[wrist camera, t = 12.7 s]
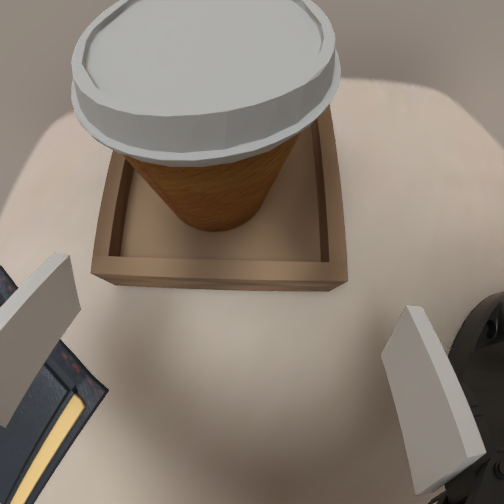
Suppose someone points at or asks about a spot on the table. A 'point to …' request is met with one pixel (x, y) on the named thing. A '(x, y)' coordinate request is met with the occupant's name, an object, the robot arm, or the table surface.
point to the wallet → (44, 419)
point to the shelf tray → (235, 240)
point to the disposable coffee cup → (205, 96)
